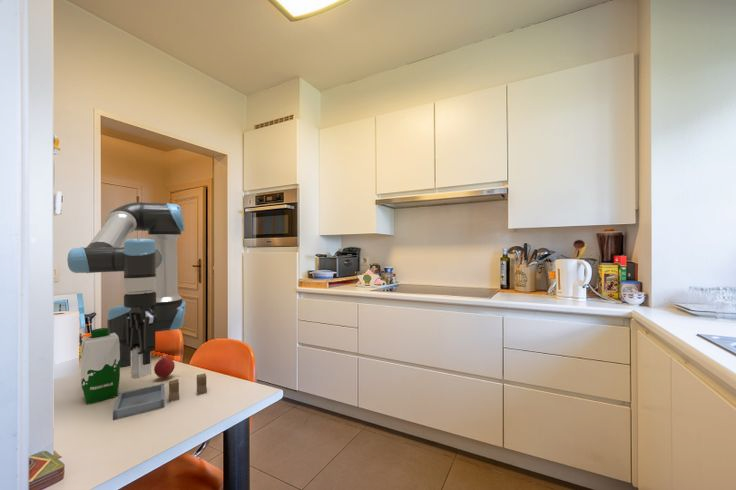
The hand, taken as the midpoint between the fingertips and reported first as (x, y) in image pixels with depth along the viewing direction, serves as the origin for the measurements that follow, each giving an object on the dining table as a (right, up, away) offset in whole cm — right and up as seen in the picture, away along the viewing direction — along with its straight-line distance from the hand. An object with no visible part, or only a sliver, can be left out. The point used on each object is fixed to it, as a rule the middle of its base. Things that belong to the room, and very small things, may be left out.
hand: (140, 373), depth 88 cm
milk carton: (-16, -9, +5) cm, 19 cm away
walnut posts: (+11, -8, +5) cm, 14 cm away
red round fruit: (-5, -9, +18) cm, 21 cm away
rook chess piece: (0, -1, 0) cm, 1 cm away
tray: (0, -9, 0) cm, 9 cm away
